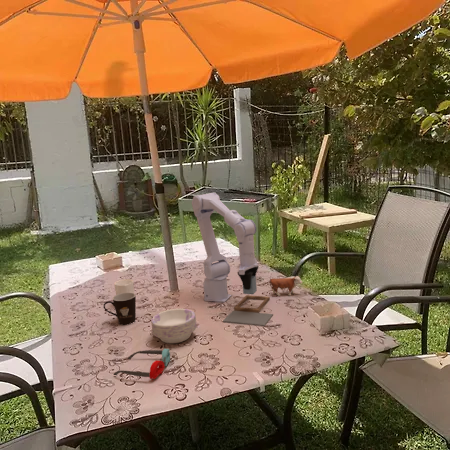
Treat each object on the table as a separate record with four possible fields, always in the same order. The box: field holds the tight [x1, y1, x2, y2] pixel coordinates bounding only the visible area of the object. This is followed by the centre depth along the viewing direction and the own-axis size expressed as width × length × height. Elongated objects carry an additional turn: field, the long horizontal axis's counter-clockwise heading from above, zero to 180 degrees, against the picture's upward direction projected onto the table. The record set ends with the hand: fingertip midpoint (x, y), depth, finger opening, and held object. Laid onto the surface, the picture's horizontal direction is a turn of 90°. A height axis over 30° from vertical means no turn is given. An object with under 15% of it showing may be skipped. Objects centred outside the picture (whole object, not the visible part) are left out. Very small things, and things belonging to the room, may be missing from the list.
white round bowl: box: [150, 308, 198, 344], centre depth 162 cm, size 15×15×8 cm
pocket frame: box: [233, 294, 271, 313], centre depth 186 cm, size 10×14×1 cm
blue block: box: [242, 275, 257, 295], centre depth 179 cm, size 4×4×6 cm
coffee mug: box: [102, 292, 137, 326], centre depth 179 cm, size 12×9×10 cm
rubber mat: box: [222, 310, 274, 327], centre depth 174 cm, size 16×10×1 cm, turn 67°
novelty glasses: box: [112, 348, 171, 380], centre depth 142 cm, size 14×15×5 cm
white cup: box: [113, 278, 135, 295], centre depth 196 cm, size 8×8×10 cm
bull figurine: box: [269, 275, 303, 297], centre depth 194 cm, size 4×13×8 cm, turn 78°
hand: (249, 287), depth 179 cm, fingers closed on blue block, 4 cm apart
